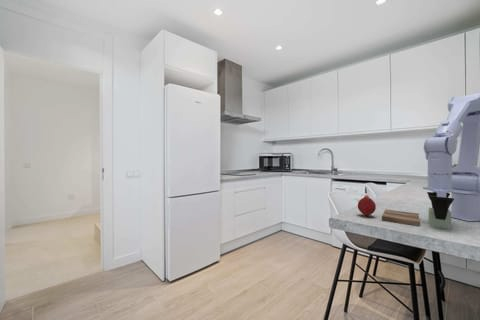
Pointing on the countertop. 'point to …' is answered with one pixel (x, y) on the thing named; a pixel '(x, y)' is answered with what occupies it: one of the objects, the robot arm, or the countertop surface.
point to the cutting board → (401, 217)
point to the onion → (366, 206)
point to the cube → (439, 220)
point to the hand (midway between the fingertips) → (439, 216)
